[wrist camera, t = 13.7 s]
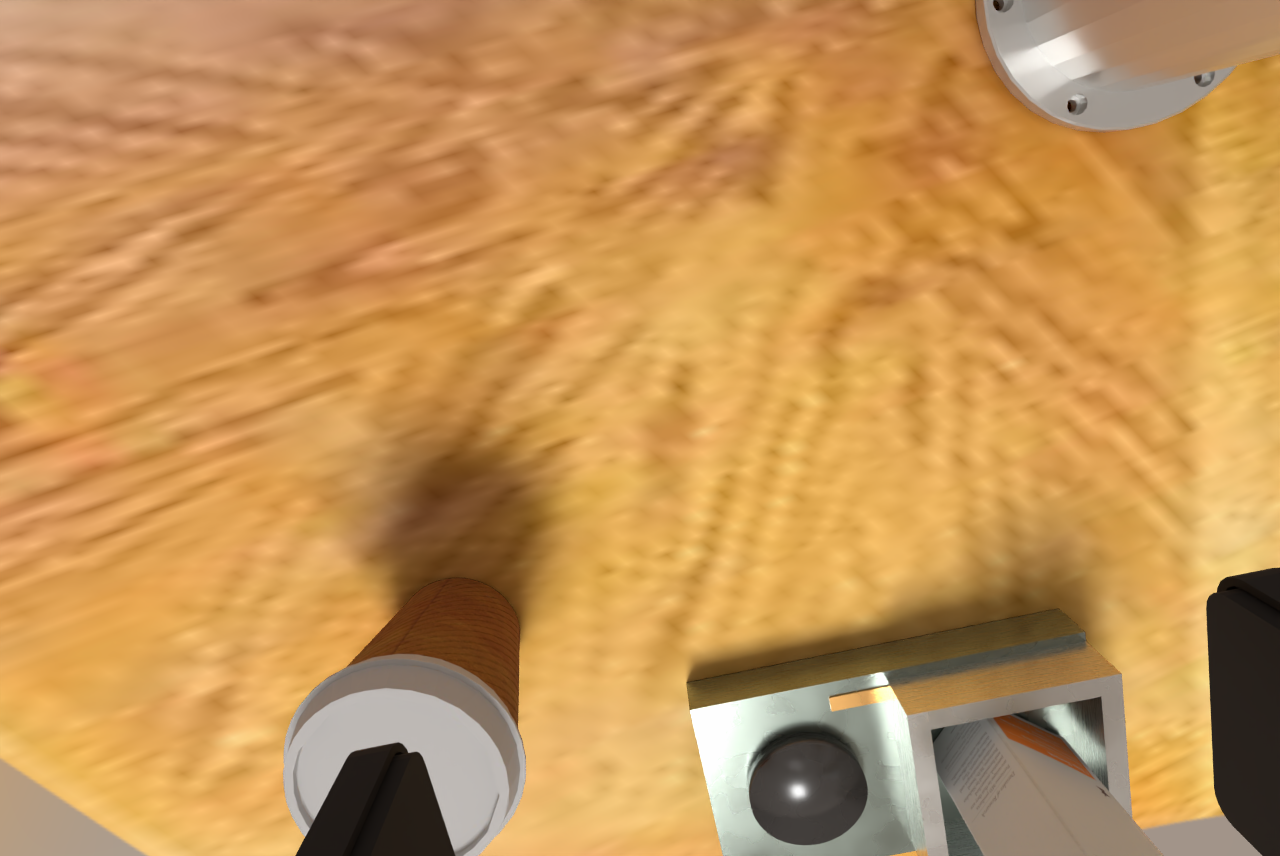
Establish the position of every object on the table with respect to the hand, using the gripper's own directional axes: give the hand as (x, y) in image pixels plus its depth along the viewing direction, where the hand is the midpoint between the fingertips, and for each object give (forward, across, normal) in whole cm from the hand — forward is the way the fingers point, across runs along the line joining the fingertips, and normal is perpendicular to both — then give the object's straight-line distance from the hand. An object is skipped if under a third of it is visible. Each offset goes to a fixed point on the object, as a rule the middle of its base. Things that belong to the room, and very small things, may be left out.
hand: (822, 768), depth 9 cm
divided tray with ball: (+30, -7, +23) cm, 39 cm away
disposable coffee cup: (+31, +14, +12) cm, 36 cm away
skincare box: (+28, -12, +23) cm, 38 cm away
